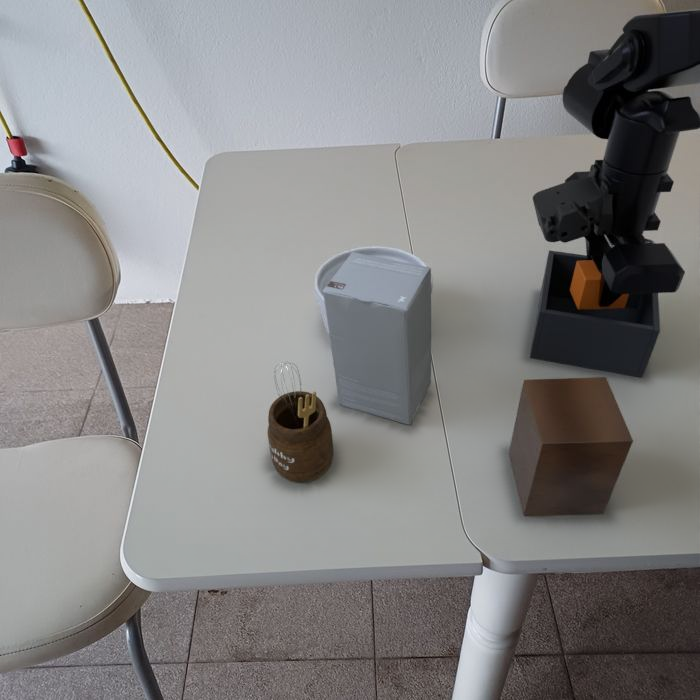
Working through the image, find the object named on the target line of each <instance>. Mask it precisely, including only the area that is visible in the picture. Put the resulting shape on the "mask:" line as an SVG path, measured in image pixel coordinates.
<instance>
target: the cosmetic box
mask: <svg viewBox="0 0 700 700" xmlns="http://www.w3.org/2000/svg"><path fill="white" fill-rule="evenodd" d="M431 274H432V268H431V267H429V266H428V267H424V266H419V265H414V264H409V263H404V262H399V261H394V260H389V259H384V258H379V257H374V256H370V255H365V254H360V253H355V252H352V253H351V254H350V256H349V257H348V258H347V260H346V261H345V262H344V264H343V265H342V266H341V268H340V269H339V270H338V271H337V273H336V274H335V275H334V277H333V278H332V279H331V281H330V282H329V283H328V285H327V286H326V287H325V288H324V290H323V295H324V301H325V307H326V314H327V321H328V327H329V333H328V335H329V340H330V350H331V355H332V363H333V369H334V376H335V384H336V391H337V398H338V404H339V405H340V406H343V407H346V408H350V409H353V410H357V411H360V412H364V413H367V414H371V415H374V416H378V417H381V418H384V419H387V420H390V421H391V420H392V421H395V422H399V423H402V424H405V425H411V424H412V423H413V420H414V418H415V417H416V414H417V412H418V411H419V409H420V406H421V404H422V402H423V400H424V398H425V397H426V394H427V392H428V390H429V387H430V386H431V384H432V294H431Z"/></svg>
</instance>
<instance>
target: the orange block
mask: <svg viewBox="0 0 700 700" xmlns="http://www.w3.org/2000/svg"><path fill="white" fill-rule="evenodd" d="M600 279H601V273H600V272H599V271H598V269H597V267H596V265H595V263H594V261H593V260H583V261H577V262H576V266H575V271H574V275H573V279H572V283H571V287H570V292H571V294H572V297H573V299H574V301H575V304H576V306H577V308H578V310H584V309H615V308H625V305H626V302H627V299H628V296H629V294H623V295H622V296H620V297H619V298H618V299H617V300H616V301H615V302H614V303H612V304H611V305H610V306H608V307H600V306H599V304H598V301H599V288H600Z"/></svg>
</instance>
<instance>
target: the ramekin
mask: <svg viewBox="0 0 700 700" xmlns="http://www.w3.org/2000/svg"><path fill="white" fill-rule="evenodd" d="M352 252H355V253H360V254H365V255H370V256H374V257H379V258H384V259H389V260H394V261H399V262H404V263H409V264H414V265H419V266H424V267H429V266H428V265H427V264H426V263H425V262H424V261H423V260H422V259H421V258H420V257H418V256H417V255H415V254H413V253H411V252H408V251H406V250H404V249H400V248H396V247H392V246H391V247H390V246H380V245H372V246H370V245H369V246H360V247H356V248H351V249H347V250H345V251H342V252H338V253H337V254H335V255H333V256H331V257H330V258H328V259H327V260H326V261H325V262H323V264H321V266H319V268H318V270H317V271H316V274H315V276H314V280H313V282H314V283H313V284H314V295H315V298H316V301H317V303H318V304H319V309H320V312H321V317H322V320H323V324H324V327H325V329H326V331H327V334H329V327H328V321H327V314H326V307H325V301H324V295H323V290H324V288H325V287H326V286H327V285H328V283H329V282H330V281H331V279H332V278H333V277H334V275H335V274H336V273H337V271H338V270H339V269H340V268H341V266H342V265H343V264H344V262H345V261H346V260H347V258H348V257H349V256H350V254H351V253H352ZM432 294H433V274H432V273H431V295H432Z"/></svg>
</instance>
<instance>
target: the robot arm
mask: <svg viewBox="0 0 700 700" xmlns="http://www.w3.org/2000/svg"><path fill="white" fill-rule="evenodd" d="M622 32H623V33H622V34H621V35H620V36H619V37H618V38H617V39H616V40H615V42H613V44H612V45H611V47H610V48H608V49H607V48H606V49H599V50H591V51H590V52H589V55H588V59H587V62H586V63H585V64H583V65H581V67H579V68H578V69H577V70H576V71H575V72H574V73H573V74H572V75H571V77H570V78H569V79H568V81H567V84H566V85H565V86H564V88H563V90H562V91H563V92H562V105H563V107H564V109H565V111H566V112H567V113H568V114H569V115H570V116H571V117H572V118H574V119H575V120H576V121H577V122H579V124H580V125H582V126H583V127H585V128H586V129H587V130H588V131H589V132H591V133H592V134H593V135H594V136H595V137H597V138H599V139H601V140H607V143H606V147H605V151H604V154H603V159H595V160H594V164H591V165H590V168H589V171H588V170H587V171H574V172H573V173H572V174H571V175H569V176H568V177H567V178H565V180H564V182H563V183H559V184H557V185H554V186H550V187H548V188H545V189H542V190H540V191H537V192H536V193H534V194H533V196H532V203H533V206H534V210H535V214H536V219H537V223H538V226H539V227H540V231H541V233H542V234H543V237H544V238H543V239H544V241H546V242H548V243H558V242H561V243H569V242H572V241H575V240H579V239H581V238H584V239H585V249H586V250H585V251H586V255H587V260H593V261H594V263H595V265H596V267H597V269H598V271H599V272H600V273H601V279H600V288H599V301H598V304H599V306H600V307H608V306H610V305H611V304H612V303H614V302H615V301H616V300H617V299H618V298H619V297H620V296H622V295H623V294H642V293H658V294H667V293H672V294H673V293H676V292H677V291H678V290H679V289H680V286H681V284H682V282H683V279H684V276H685V273H686V271H685V269H684V268H683V267H682V265H681V263H680V262H679V261H678V259H677V257H676V256H675V254H673V252H672V250H671V249H670V248H669V247H668V245H666V243H665V242H662V243H661V242H659V243H656V242H655V241H654V240H653V239H648V238H646V237H645V236H644V232H652V231H655V232H656V231H659V228H660V225H661V222H662V221H661V219H660V218H659V217H658V215H657V213H656V209H657V205H658V203H659V199H660V196H661V193H671V191H672V189H673V186H674V183H675V182H674V180H673V179H672V178H671V176H670V175H669V173H668V171H669V167H670V164H671V161H672V158H673V155H674V151H675V149H676V145H677V143H678V139H679V136H680V133H681V132H688V131H695V130H699V129H700V114H699V112H698V111H697V110H696V109H695V107H694V106H693V104H692V103H693V102H692V98H691V96H680V97H679V96H678V97H674V96H672V95H671V94H669V93H667V92H664V91H661V90H660V89H667V88H674V87H682V86H683V87H684V86H689V85H697V84H700V8H693V9H684V10H675V11H674V10H673V11H665V12H658V13H649V14H640V15H639V14H638V15H635V16H633V17H631V18H630V19H628V21H627V22H626V23H625V24H624V25H623V27H622ZM658 89H659V90H658Z"/></svg>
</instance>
